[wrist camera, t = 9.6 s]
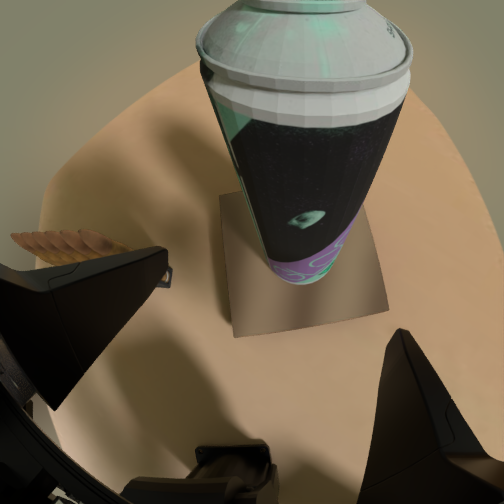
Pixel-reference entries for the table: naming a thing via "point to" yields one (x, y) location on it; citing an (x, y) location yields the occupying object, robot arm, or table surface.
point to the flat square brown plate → (291, 295)
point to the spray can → (304, 117)
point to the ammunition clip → (74, 247)
